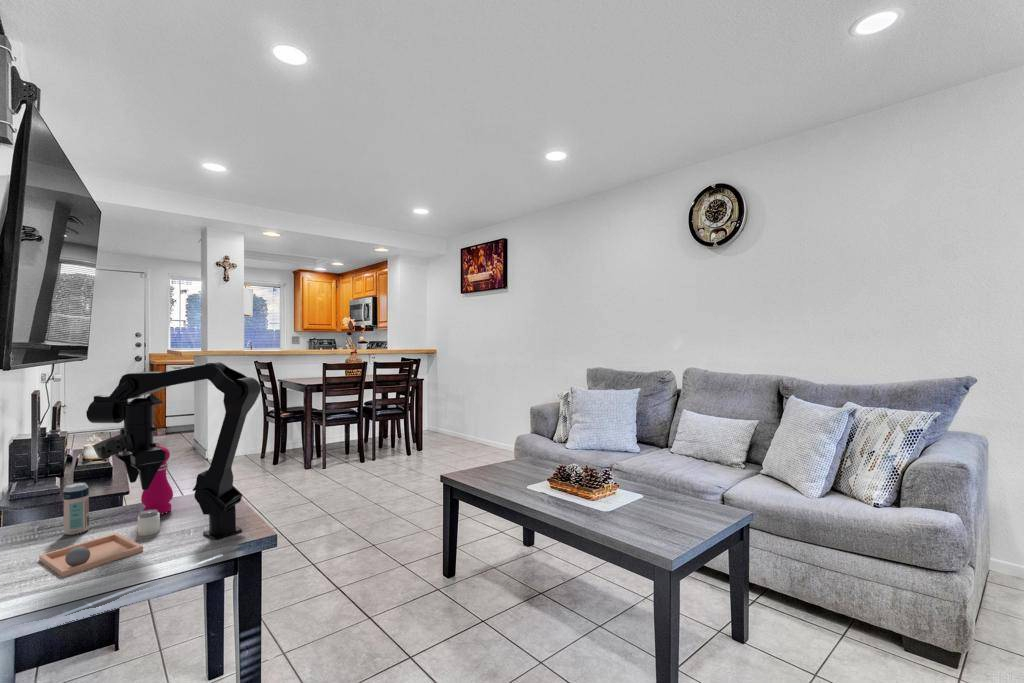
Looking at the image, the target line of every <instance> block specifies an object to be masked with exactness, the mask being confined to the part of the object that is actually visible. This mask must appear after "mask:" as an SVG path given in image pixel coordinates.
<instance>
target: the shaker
mask: <svg viewBox="0 0 1024 683" xmlns="http://www.w3.org/2000/svg"><path fill="white" fill-rule="evenodd" d="M160 517H161V515H160V513H159V512H158V510H156V509H152V510H146V511H144V510H143V511H140V512H139V515H138V516H137V536H139V537H146V536H152V535H154V534H157V533H159V532H160V531H161V522H160V521H161V519H160Z"/></svg>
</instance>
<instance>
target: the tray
mask: <svg viewBox="0 0 1024 683" xmlns="http://www.w3.org/2000/svg"><path fill="white" fill-rule="evenodd" d="M79 546H83V547H86V548H88V549H89V550H90V558H89V559H88V561H87V562H86V563H84V564H81V565H77V566H74V567H72V566H69V565H68V564H67V563H66V561H65V558H66V555H67V553H68V552H69V551H70V550H71V549H73V548H75V547H79ZM141 552H144V546H143V545H142V544H140V543H138V542H136V541H134V540H132V539H131V538H128V537H126V536H124V535H122V534H120V533H118V532H116V533H115V532H114V533H112V534H109V535H108V534H107V535H106V536H102V537H98V538H95V539H90V540H88V541H84V542H80V543H77V544H73V545H70V546H67V547H64V548H63V547H62V548H60V549H57V550H52V551H49V552H45V553H43V554H39V556H38V557H39V558H38V559H39V562H41V563H43V564H44V565H45V566H46V567H48V568H49V569H51V570H52V571H53V572H55V573H56V574H57V575H58V576H60V577H61V578H64V577H68V576H72V575H74V574H77V573H80V572H83V571H85V570H89V569H92V568H95V567H98V566H102V565H105V564H108V563H111V562H113V561H116V560H120V559H123V558H127V557H129V556H132V555H136V554H138V553H141Z"/></svg>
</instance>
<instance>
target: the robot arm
mask: <svg viewBox="0 0 1024 683" xmlns="http://www.w3.org/2000/svg"><path fill="white" fill-rule="evenodd" d="M204 380H208V381H209V382H211V383H212V385H213V386H214V387H215V388H216V389H217V390H218V391H220V392H221V393H223V401H222V402H223V405H224V410H225V413H224V417H223V421H222V425H221V427H220V431H219V434H218V438H217V442H216V445H215V448H214V452H213V456H212V458H211V462H210V466H209V468H208V469H207V470H204V471H202V472H200V473H198V474H197V477H196V481H195V485H194V487H193V489H192V492H194V499H195V501H196V502H197V504H199V507H200V510H201V512H202V514H203V515H205V516H206V515H208V527H209V529H207V530H205V531H203V532H202V535H204V536H207V537H209V538H211V539H213V540H219V539H222V538H225V537H229V536H231V535H234V534H237V533H240V532H242V531H243V528H241V527H239V526H237V525H236V523H237V514H236V513H237V512H236V511H237V510H236V509H237V508H236V505H237V504H240V503H241V501H242V498H243V493H242V492H240V491H239V490H238V489H237V488H236V487H235V486H233V485H234V474H233V470H232V466H233V464H234V459H235V455H236V452H237V449H238V445H239V441H240V438H241V436H242V432H243V428H244V424H245V422H246V419H247V418H246V417H247V415H248V413H249V412H250V410H251V409H252V408H253V407H254V405H255V403H256V402H257V400H258V398H259V395H260V394H261V390H262V386H261V384H260V383H259V380H257V379H256V378H254V377H249V376H246V375H245V374H244V373H241V372H239V371H237V370H235V369H232V368H230V367H228V366H227V365H226V364H225V363H223V362H220V361H214V362H208V363H206V364H203V365H202V364H201V365H195V366H190V367H186V368H185V367H184V368H180V369H174V370H173V369H172V370H168V371H141V372H140V371H139V372H131V373H126V374H123V375H122V376H121V378H120V380H119V382H118V384H117V386H116V387H115V389H114V390H113V391H112V393H111V394H110V395H107V394H102V395H101V394H100V395H94V396H93V401H92V402H90V403H89V406H88V408H87V410H86V412H85V413H86V418H87V421H89V423H92V424H120V423H123V426H122V427H121V428H120V429H119V434H118V435H115V436H112V437H109V438H106V439H105V440H104V439H103V441H100V442H97V443H95V444H93V445H92V448H93V449H94V452H95V454H96V455H97V457H98V458H99V459H101V460H103V461H104V460H107V459H110V458H111V457H112V456H114V457H116V458H117V459H119V460H120V461H122V462H123V465H124V468H125V471H126V474H127V477H128V481H129V483H136V482H137V479H138V477H139V481H140V482H139V483H140V485H141V489H142V491H144V490H147V489H148V488H149V486H150V484H151V482H152V481H153V479H154V477H155V475H156V473H157V471H158V470H159V468H160V466H161V464H162V463H164V461H165V460H166V452H165V451H164V450H162V449H160V448H158V447H156V443H154V442H155V441H154V432H155V431H157V429H156V428H157V426H154V406H156V405H160V404H163V400H161V399H160V398H159V397H157V396H156V394H154V393H156V392H159V391H161V390H164V389H165V388H169V387H171V386H176V385H180V384H187V383H192V382H198V381H204ZM145 395H147V397H142V396H145ZM131 399H132V400H131ZM129 400H131V401H129ZM153 447H155V448H153Z"/></svg>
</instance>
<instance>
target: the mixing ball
mask: <svg viewBox="0 0 1024 683" xmlns="http://www.w3.org/2000/svg"><path fill="white" fill-rule="evenodd" d="M89 558H90V550H89V549H88V548H86V547H83V546H79V547H75V548H73V549H71V550H70V551H69V552H68V553H67V555H66V558H65V561H66V563H67V564H68V565H69V566H72V567H74V566H77V565H81V564H84V563H86V562H87V561H88V559H89Z"/></svg>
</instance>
